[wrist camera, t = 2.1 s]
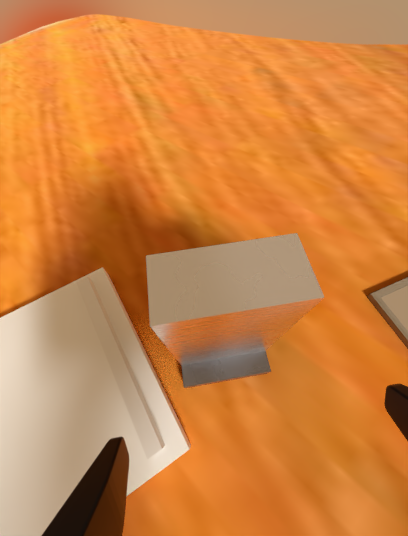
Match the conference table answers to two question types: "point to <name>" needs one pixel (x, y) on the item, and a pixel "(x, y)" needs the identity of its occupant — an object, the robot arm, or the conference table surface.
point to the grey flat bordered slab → (394, 307)
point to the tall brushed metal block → (229, 304)
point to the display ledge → (75, 400)
